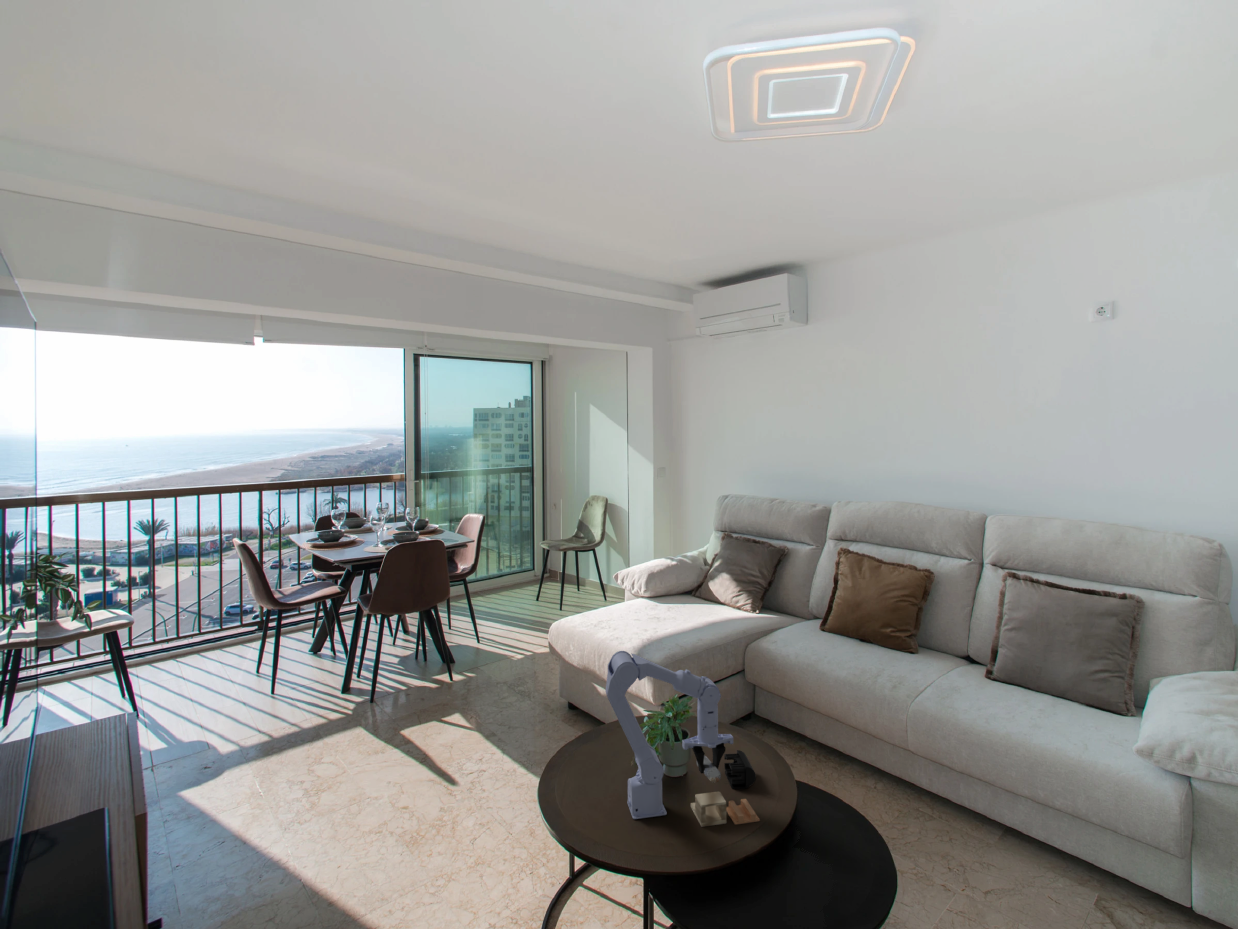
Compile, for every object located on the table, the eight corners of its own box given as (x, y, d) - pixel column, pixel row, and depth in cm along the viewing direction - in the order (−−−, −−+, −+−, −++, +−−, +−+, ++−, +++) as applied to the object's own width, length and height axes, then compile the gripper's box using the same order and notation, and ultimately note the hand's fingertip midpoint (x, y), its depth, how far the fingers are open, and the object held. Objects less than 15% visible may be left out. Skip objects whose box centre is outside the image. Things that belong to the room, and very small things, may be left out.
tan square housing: (701, 826, 158) (701, 805, 157) (690, 806, 166) (690, 786, 166) (726, 823, 159) (726, 802, 159) (714, 803, 168) (714, 783, 168)
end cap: (756, 789, 174) (756, 766, 174) (732, 790, 174) (732, 767, 174) (746, 771, 184) (746, 749, 184) (724, 772, 184) (723, 750, 184)
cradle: (734, 824, 158) (734, 816, 158) (725, 809, 165) (725, 801, 165) (759, 821, 160) (759, 813, 160) (748, 805, 166) (748, 798, 166)
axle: (722, 781, 163) (719, 767, 164) (710, 784, 163) (707, 771, 163) (709, 766, 173) (707, 753, 173) (697, 769, 172) (695, 757, 172)
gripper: (687, 732, 162) (688, 781, 163) (737, 726, 165) (738, 774, 166) (679, 721, 169) (680, 768, 170) (727, 715, 172) (728, 761, 173)
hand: (708, 770), depth 168 cm, fingers closed on axle, 4 cm apart
